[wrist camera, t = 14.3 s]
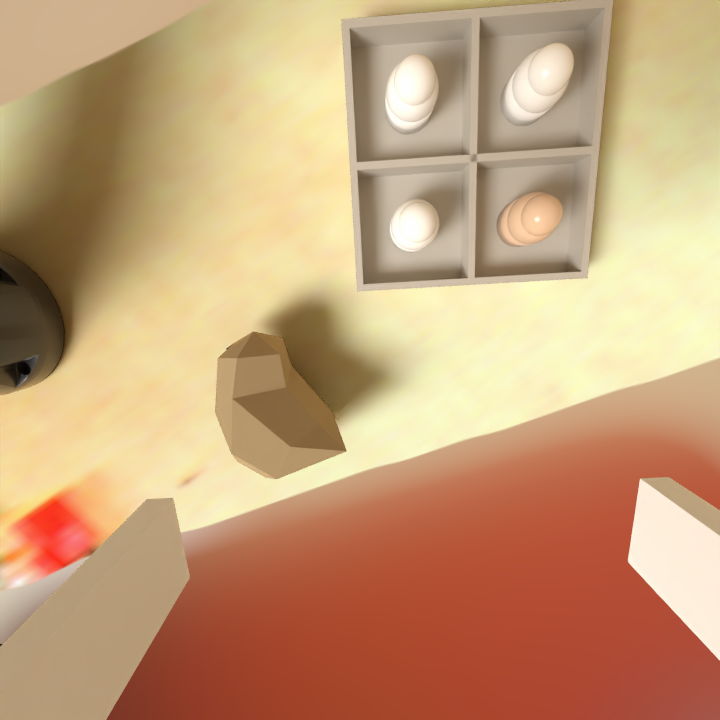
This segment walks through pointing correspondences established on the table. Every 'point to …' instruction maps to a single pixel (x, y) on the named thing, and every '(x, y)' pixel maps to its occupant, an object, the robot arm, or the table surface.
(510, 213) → the brown egg
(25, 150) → the table surface
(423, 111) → the white egg
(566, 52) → the white egg
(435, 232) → the white egg
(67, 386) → the table surface
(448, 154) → the carton
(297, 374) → the low-poly potato
